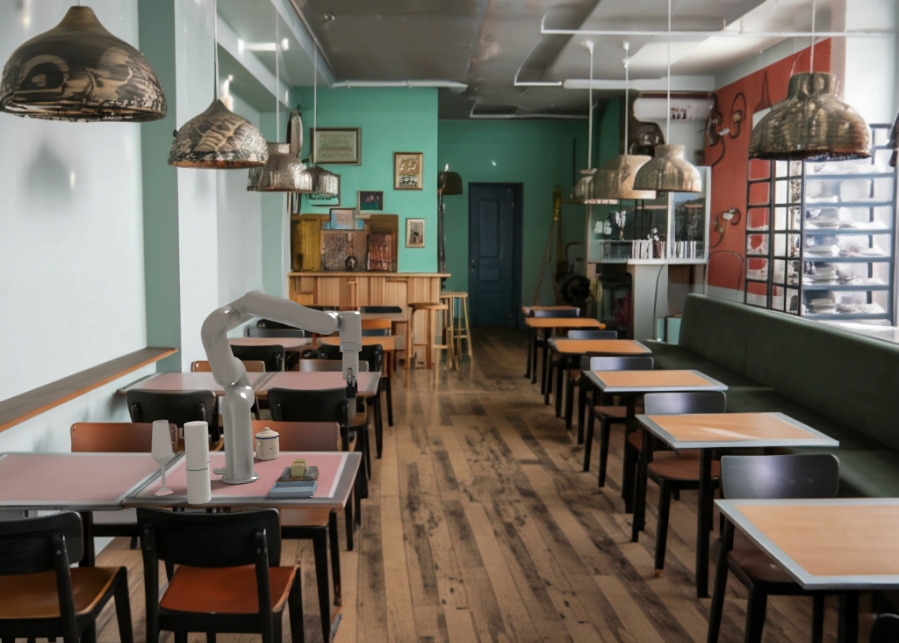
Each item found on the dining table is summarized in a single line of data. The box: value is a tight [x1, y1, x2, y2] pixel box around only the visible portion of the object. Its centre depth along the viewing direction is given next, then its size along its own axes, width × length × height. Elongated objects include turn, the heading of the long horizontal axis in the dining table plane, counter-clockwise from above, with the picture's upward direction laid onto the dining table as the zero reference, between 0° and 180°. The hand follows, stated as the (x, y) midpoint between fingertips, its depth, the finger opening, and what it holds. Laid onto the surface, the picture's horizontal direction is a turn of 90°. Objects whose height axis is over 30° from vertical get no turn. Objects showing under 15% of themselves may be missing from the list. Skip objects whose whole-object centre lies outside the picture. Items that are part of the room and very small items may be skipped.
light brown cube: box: [292, 458, 308, 473], centre depth 296 cm, size 4×4×4 cm
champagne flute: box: [151, 419, 174, 492], centre depth 282 cm, size 7×7×24 cm
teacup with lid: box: [254, 426, 280, 461], centre depth 325 cm, size 12×9×12 cm
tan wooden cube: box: [290, 462, 305, 478], centre depth 291 cm, size 4×4×4 cm
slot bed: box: [277, 465, 320, 482], centre depth 293 cm, size 12×13×4 cm
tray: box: [268, 480, 318, 499], centre depth 280 cm, size 14×12×2 cm
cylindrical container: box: [183, 420, 212, 505], centre depth 272 cm, size 7×7×25 cm
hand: (351, 395), depth 298 cm, fingers open, 9 cm apart
